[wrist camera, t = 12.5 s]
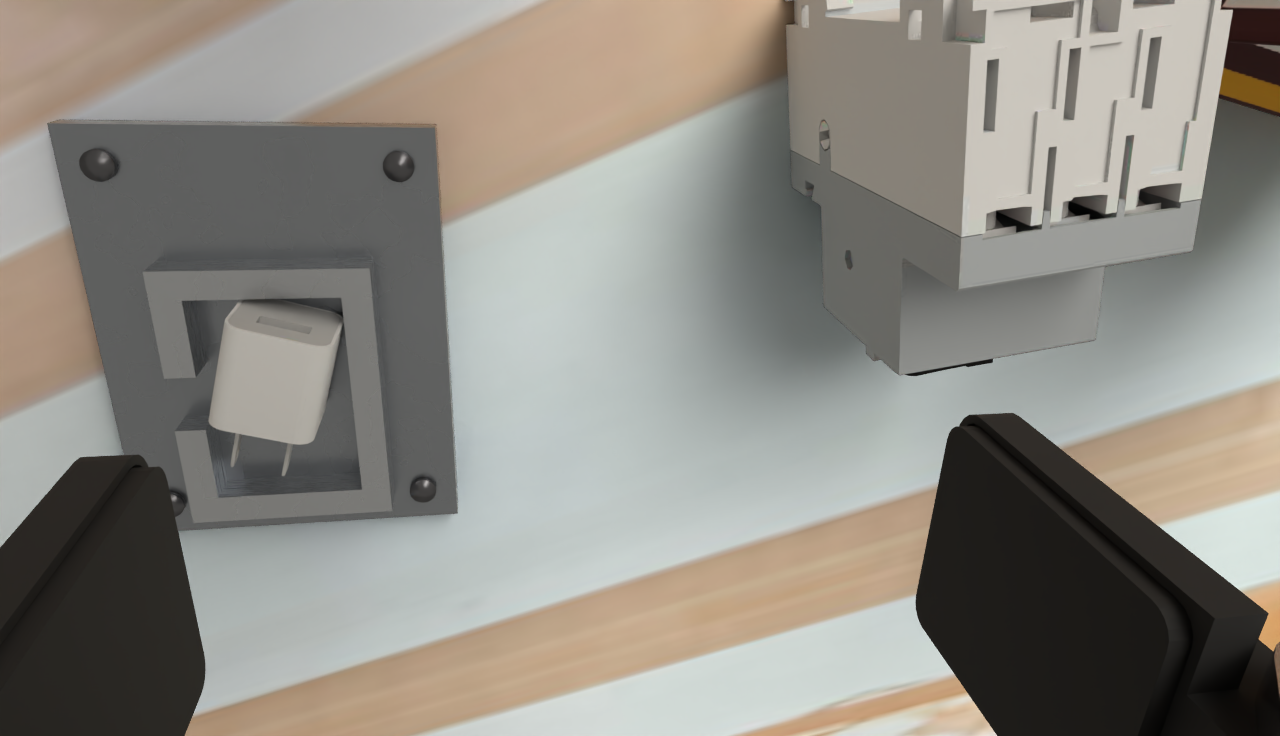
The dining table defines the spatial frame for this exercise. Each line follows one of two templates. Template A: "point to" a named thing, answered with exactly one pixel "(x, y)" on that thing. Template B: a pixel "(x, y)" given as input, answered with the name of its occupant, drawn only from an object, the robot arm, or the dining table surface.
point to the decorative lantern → (1253, 55)
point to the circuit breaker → (996, 161)
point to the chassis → (269, 269)
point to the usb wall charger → (274, 372)
